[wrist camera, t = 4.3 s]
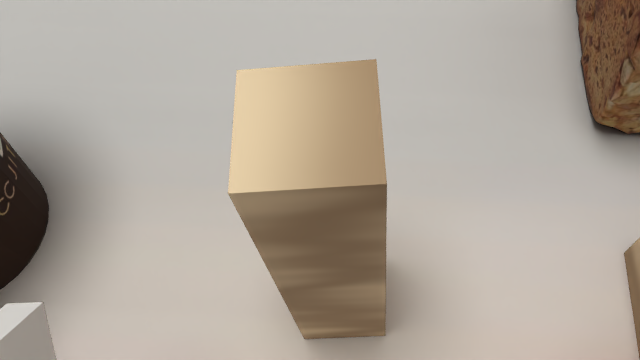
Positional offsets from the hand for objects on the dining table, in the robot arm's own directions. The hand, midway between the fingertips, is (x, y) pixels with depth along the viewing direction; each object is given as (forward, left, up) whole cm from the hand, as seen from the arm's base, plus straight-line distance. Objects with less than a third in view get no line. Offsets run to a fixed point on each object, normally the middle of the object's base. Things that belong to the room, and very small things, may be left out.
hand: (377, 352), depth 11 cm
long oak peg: (-1, +4, -9) cm, 9 cm away
